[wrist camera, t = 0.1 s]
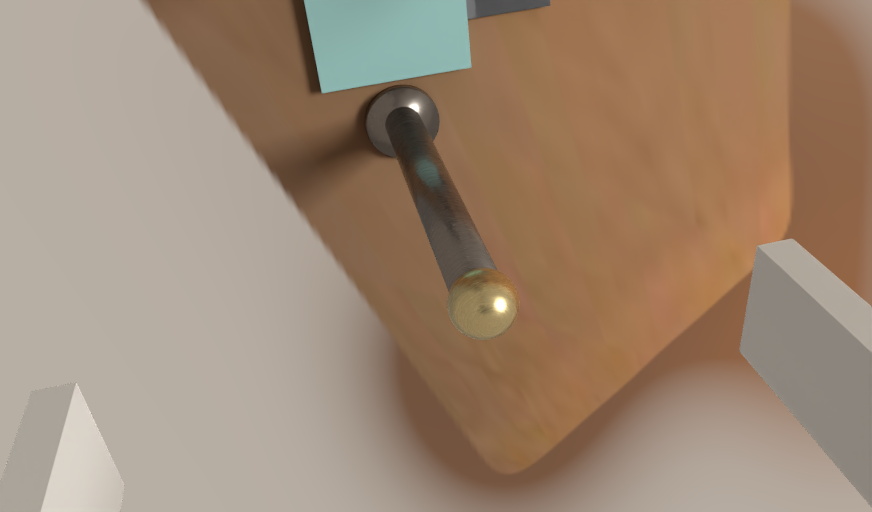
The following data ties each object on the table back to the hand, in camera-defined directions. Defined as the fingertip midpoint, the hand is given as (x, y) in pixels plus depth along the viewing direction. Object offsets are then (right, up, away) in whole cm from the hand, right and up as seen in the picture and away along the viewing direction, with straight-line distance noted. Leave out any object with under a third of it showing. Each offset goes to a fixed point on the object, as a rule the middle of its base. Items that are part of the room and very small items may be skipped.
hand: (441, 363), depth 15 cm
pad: (-3, +15, +23) cm, 28 cm away
